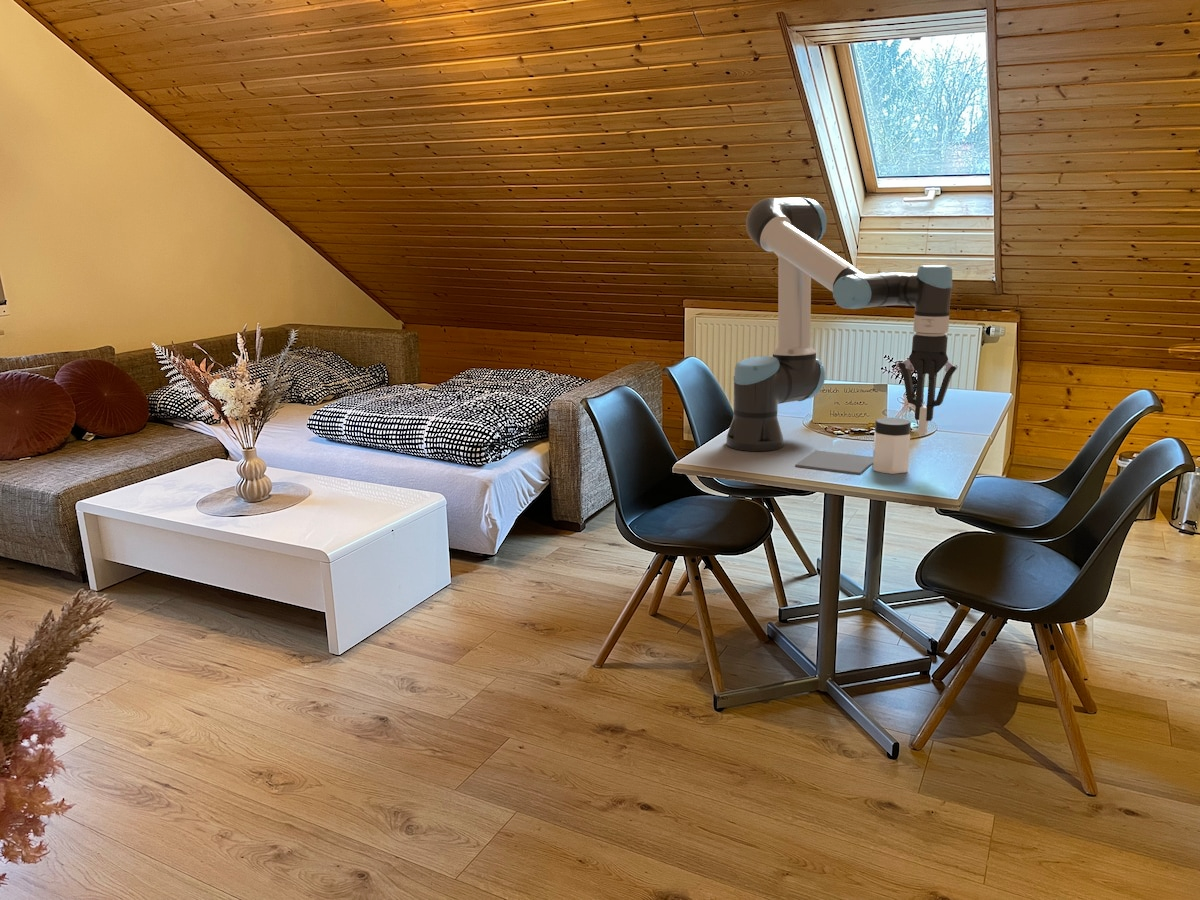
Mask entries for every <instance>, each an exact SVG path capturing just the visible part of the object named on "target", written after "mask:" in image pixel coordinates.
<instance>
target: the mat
mask: <svg viewBox="0 0 1200 900" xmlns="http://www.w3.org/2000/svg"><path fill="white" fill-rule="evenodd" d="M794 466H795V467H796V468H805V469H811V470H821V471H828V472H834V473H835V472H836V473H843V474H851V475H858V476H859V475H861V474H863V473H864V472H865V471H866V470H867V469H868V468H869V467H870V466H873V456H868V455H860V454H852V453H851V454H849V453H842V452H841V453H840V452H833V451H825V450H819V449H817V450H814V451H813V452H811V453H810V454H808V455H807V456H806V457H804V458H803V459H801V460H800V461H798V462H797V463H796V464H795V465H794Z"/></svg>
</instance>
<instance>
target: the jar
mask: <svg viewBox="0 0 1200 900" xmlns="http://www.w3.org/2000/svg"><path fill="white" fill-rule="evenodd" d="M874 422H875V423H874V436H873V448H872V449H873V452H872V453H873V454H872V457H873V464H872V469H873V471H874V472H878V473H883V474H888V475H894V474H895V475H896V474H897V475H898V474H903V473H904V474H905V473H908V472H909V460H910V459H909V458H910V448H911V447H910V445H911V424H912V422H911V421H910V420H908V419H905V418H897V417H881V418H876V419H875V421H874Z"/></svg>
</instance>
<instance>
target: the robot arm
mask: <svg viewBox="0 0 1200 900" xmlns="http://www.w3.org/2000/svg"><path fill="white" fill-rule="evenodd" d="M827 225H828V223H827V215H826V212H825V209H824V208H823V207H822V205H821V204H820V203H819V202H818V201H816V200H815V199H813V198H808V197H807V198H806V197H802V196H801V197H799V196H797V197H766V198H762V199H761V200H759V201H757V202H756V203H754V205H753V206H751V208H750V210H749V211H748V212H747V215H746V220H745V227H746V233H747V234H748V236H749V238H750V239H751V241H753V243H755V244H756V245H757V246H758V247H759V248H761V249H763V250H764V251H766V252H767V253H768V252H769V253H770V252H771V253H772V252H773V253H774V254H775V255H776V257H777V259H778V261H777V263H778V265H777V267H778V268H777V269H778V275H777V276H778V277H777V278H778V279H777V280H778V282H777V283H778V287H777V288H778V290H777V292H778V294H777V295H778V296H777V297H778V298H777V299H778V303H777V304H778V305H777V306H778V309H777V310H778V316H777V318H778V319H777V320H778V321H777V322H778V326H777V327H778V331H777V332H778V335H777V337H778V340H777V341H778V342H777V343H778V346H777V347H776V348H775V350H774V351H773V352H772V356H769V355H765V356H764V355H763V356H762V355H761V356H760V355H759V356H752V357H747V358H744V359H742V360H740V361H738V362H737V363H736V364H735V367H734V375H733V417H732V420H731V423H730V425H729V429H728V431H727V434H726V446H727V447H729V448H731V449H734V450H740V451H746V452H747V451H748V452H767V451H775V450H779V449H781V448H782V447H783V446H784V435H783V432H782V429H781V426H780V421H779V420H778V409H779V408H778V407H779V406H778V405H779V404H784V403H785V404H786V403H791V402H792V403H793V402H803V401H805V400H809V399H812V398H814V397H815V396H817V395H818V393H820V392H821V390H822V388H823V387H824V385H825V379H826V370H825V367H824V365H822V364H823V363H822V361H821V359H819V358H817V351H816V350H815V349H814V348H813V347H812V345H811V326H812V325H811V322H812V321H811V317H812V315H811V313H812V312H811V309H812V308H811V307H812V304H811V303H812V300H811V299H812V295H811V294H812V279H813V280H814V281H815V282H817V283H819V284H820V285H821V286H823V287H825V288H826V289H827V290H829V291H830V292H832V297H833V300H834V301H835V302H836V303H835V304H837V306H838V307H840V308H842V309H844V310H845V309H846V310H848V309H850V310H859V309H864V308H865V309H867V308H873V307H875V308H876V307H887V306H910V307H914V315H913V316H914V317H913V332H914V333H915V334H913V335H912V342H911V344H912V345H911V352H910V354H909V356H908V359H906V360H903V361H901V362H899V363H898V368H899V369H900V371H901V373H902V377H903V383H904V388H905V393H906V394H905V395H906V400H907V403H908V404H911V405H913V406H914V408H915V409H914V419H915V420H917V421H918V427H917V428H918V430H917V435H920V436H926V434H928V425H929V424H928V422H931V421H932V420H933V418H934V408H935V407H937V406H941V405H942V404H943V402H944V399H945V396H946V393H947V390H948V388H949V385H950V382H951V380H952V377H953V374H954V373H955V371H957V369H958V365H957V364H953V363H952V362H950V361H949V357H948V355H947V349H948V336H947V333H948V332H949V324H950V308H951V307H950V306H951V298H952V290H953V286H954V285H953V268H952V267H951V266H949V265H944V264H938V265H937V264H926V265H925V264H923V265H922V264H921V265H920V266H919V267H918V269H917V272H915V273H913V272H912V273H911V272H899V271H898V272H897V271H893V270H892V271H882V272H879V273H871V274H870V273H865V272H863V271H861V270H860V269H859V268H857V267H855V266H854V265H852V264H851V263H849V262H848V261H846V260H845V259H843V258H842V257H840V256H839V255H837V254H836V253H834V252H833V251H832V250H830V249H828V248H827V247H825V246H824V245H823V244H821V243H819V242H818V241H821V239H822V238H823V237H824V234H825V233H826V230H827ZM911 367H913V368H914V370H915V372H916V378H917V379H916V381H917V382H916V388H915V390H914V384H913V378H912V374H911V370H910V369H911ZM944 367H945V368H944ZM943 368H944V371H945V374H944V376H943V379H942V382H941V385H940V387H939V390H938V393H937V396H936V387H937V386H936V385H937V377H938V373H939V372H940V371H941V370H942V369H943ZM926 375H928V384H927V386H928V387H927V399H926V405H923V404H924V391H925V381H926ZM915 391H916V392H915Z"/></svg>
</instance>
